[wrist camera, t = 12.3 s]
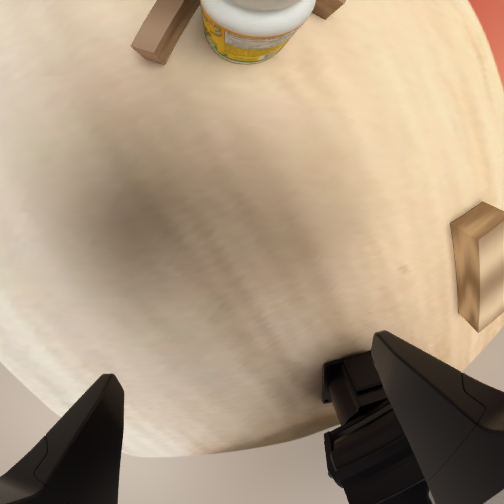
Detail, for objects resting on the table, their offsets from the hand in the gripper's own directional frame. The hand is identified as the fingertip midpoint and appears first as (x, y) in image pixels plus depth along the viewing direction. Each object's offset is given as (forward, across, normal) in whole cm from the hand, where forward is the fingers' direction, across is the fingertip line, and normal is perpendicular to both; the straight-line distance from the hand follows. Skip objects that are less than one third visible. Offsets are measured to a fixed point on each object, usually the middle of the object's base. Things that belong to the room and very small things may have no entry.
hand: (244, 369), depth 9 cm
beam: (+13, -24, +7) cm, 28 cm away
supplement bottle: (+13, -3, -14) cm, 19 cm away
